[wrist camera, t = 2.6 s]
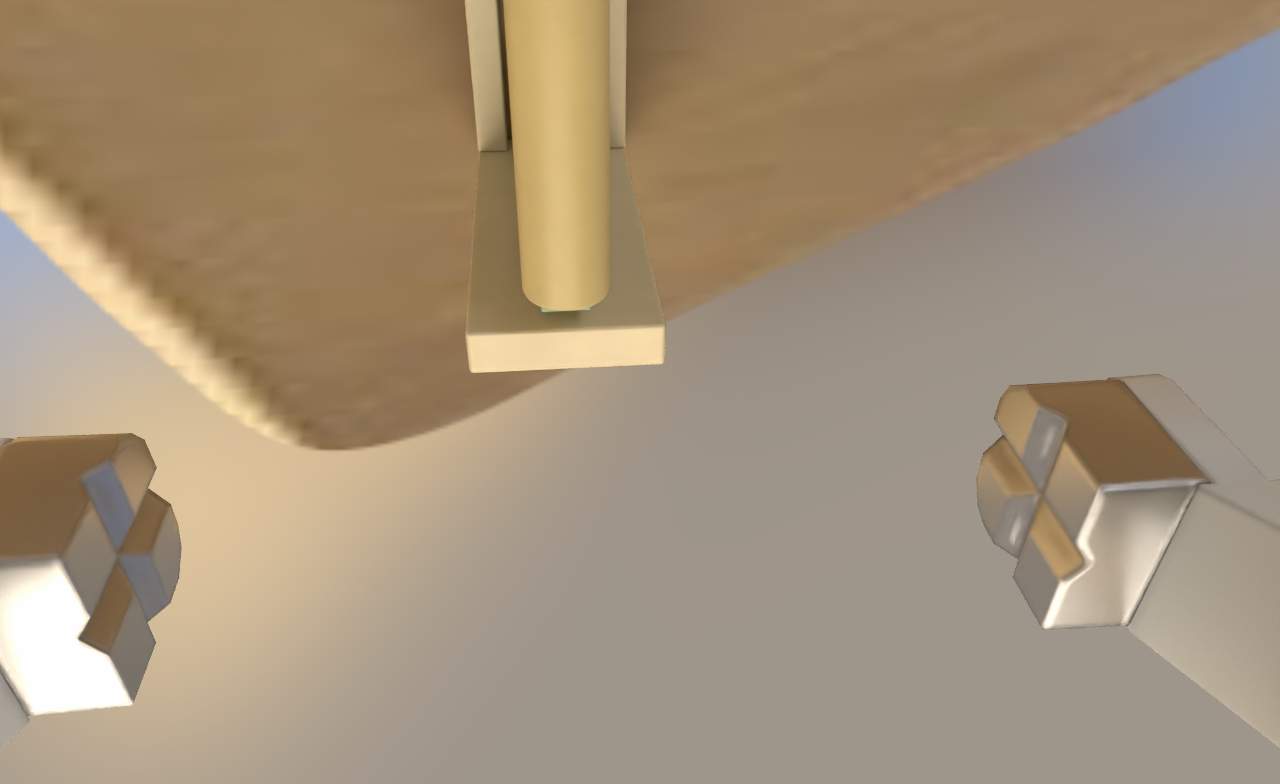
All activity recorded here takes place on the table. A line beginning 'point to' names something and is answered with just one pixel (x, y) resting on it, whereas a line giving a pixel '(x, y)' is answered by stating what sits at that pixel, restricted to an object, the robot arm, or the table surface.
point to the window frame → (497, 306)
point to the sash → (561, 147)
